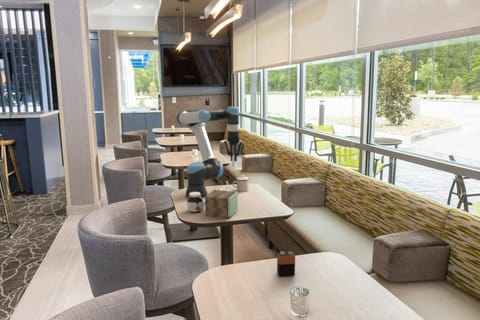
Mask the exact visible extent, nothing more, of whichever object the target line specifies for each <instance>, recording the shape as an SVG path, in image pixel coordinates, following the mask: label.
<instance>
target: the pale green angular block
mask: <svg viewBox="0 0 480 320" xmlns="http://www.w3.org/2000/svg"><path fill="white" fill-rule="evenodd" d="M234 192H235V193H234V194H233V195H232V196H231V197H229V198H228V217H229V218H230V217H232V216H233V215H234V214H235V212H237V211H238V209H239V208H238V207H239V205H238V204H239V203H238V202H239V201H238V200H239V199H238V198H239V197H238V193H239V191H234Z"/></svg>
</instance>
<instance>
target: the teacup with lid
mask: <svg viewBox="0 0 480 320" xmlns="http://www.w3.org/2000/svg"><path fill="white" fill-rule="evenodd" d="M235 179H236V180H235V181H233V182H232V186H233V188H235V189H236V192H240V193H245V192H248V191H249V177H247V176H245V175H244V174H241V175H240V176H238V177H236V178H235ZM235 183H236V186H235Z"/></svg>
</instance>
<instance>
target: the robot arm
mask: <svg viewBox="0 0 480 320" xmlns="http://www.w3.org/2000/svg"><path fill="white" fill-rule="evenodd" d="M175 120H176V123H177V124H178V125H180V126H182V127H190V130H191V131H193V134H194V136H195V139H196V143H197V147H198V150H199V152H200V156H201V159H202V161H195V162H191V163H189V164H188V165H187V167H186V168H187V171H186V172H187V187H186V190H185V197H186V198H187V199H188V197H189V193H191V192H200V196H201V197H202V198H203V199H205V196H207V195H208V192H207V191H208V190H207V188H206V185H205V181H207V180H212V179H218V178H220V177H222V175H223V173H224V165H223V163H222V162H221V161H219V160H218V157H215V155H214V153H213V148H212V146H211V143H210V140H209V136H208V133H207V129H206V126H207V123H211V122H223V121H226V122H227V138H226V140H224V142H223V143H224V145H225V148H226V152H227V156H229V157H230V161H231V166H232V168H233V167H236V162H237V161H238V156H240V154H241V150H242V147H243V146H242V145H243V144H244V141H243V140H241V138H240V108H239V107H238V106H227V108H218V109H207V110H206V109H188V110H187V109H185V110H181V111H179V112H177V114H176V116H175Z"/></svg>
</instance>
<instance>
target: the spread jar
mask: <svg viewBox="0 0 480 320" xmlns="http://www.w3.org/2000/svg"><path fill="white" fill-rule="evenodd" d="M204 207H205V199H204V198H202V197H201V196H200V192H191V193H189V197H188V198H187V199H186V208H187V210H188V212H190V213H191V214H198V213H201V212H202V211H203V210H204Z"/></svg>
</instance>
